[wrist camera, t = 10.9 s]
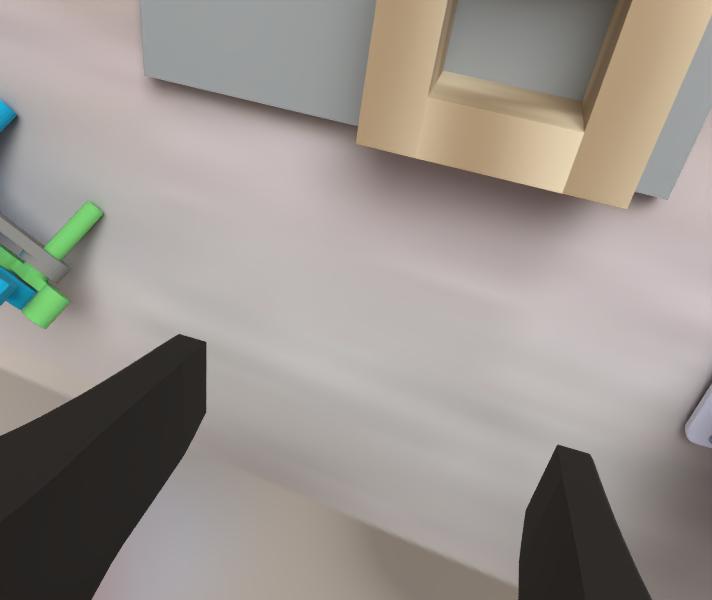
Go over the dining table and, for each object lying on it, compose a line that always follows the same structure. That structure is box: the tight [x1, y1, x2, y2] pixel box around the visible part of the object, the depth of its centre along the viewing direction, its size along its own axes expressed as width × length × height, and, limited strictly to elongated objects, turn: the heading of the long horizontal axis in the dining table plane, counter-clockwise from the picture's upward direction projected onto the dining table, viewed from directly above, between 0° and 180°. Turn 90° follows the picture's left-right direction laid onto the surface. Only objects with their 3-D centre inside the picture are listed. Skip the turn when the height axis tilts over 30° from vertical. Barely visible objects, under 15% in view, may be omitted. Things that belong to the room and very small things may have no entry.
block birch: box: [356, 0, 712, 209], centre depth 15 cm, size 7×7×2 cm
